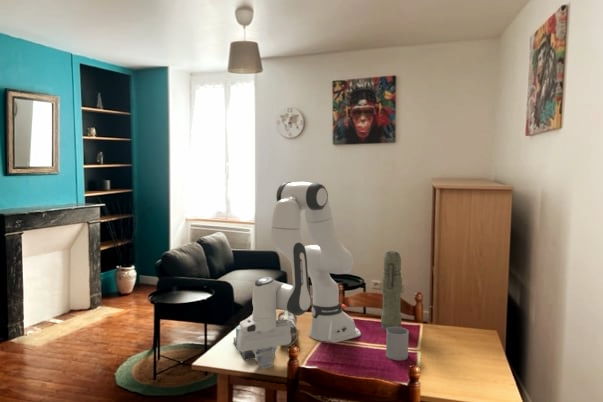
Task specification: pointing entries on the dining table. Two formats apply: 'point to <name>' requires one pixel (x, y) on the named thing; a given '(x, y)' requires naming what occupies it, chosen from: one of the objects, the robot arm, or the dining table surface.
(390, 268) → the grey-green stone column
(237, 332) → the bar
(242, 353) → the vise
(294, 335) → the pencil case
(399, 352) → the cup
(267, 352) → the steel block
